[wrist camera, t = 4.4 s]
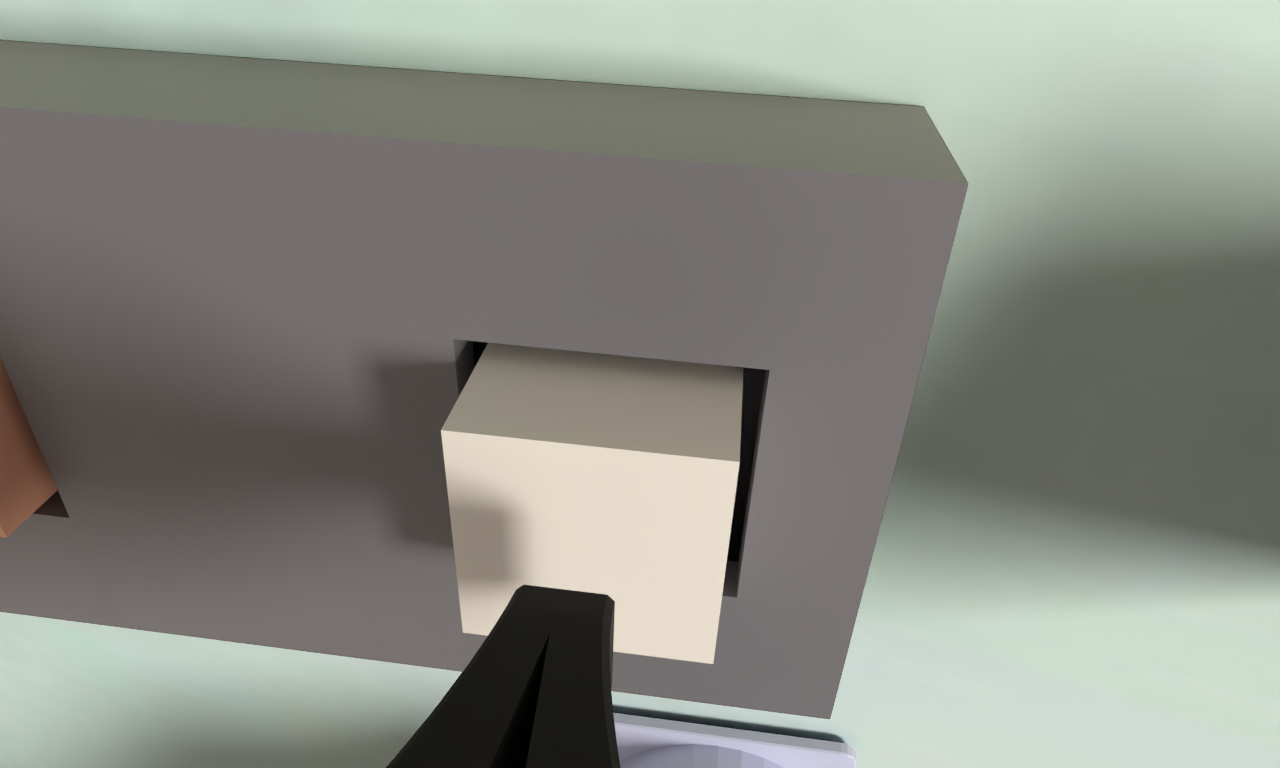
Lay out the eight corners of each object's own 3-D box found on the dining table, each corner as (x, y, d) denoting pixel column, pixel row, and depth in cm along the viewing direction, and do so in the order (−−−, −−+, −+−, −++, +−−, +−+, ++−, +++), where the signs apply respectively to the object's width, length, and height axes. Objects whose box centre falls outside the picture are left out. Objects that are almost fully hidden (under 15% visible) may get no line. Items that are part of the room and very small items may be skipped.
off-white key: (720, 544, 17) (713, 664, 15) (505, 520, 18) (462, 632, 15) (743, 357, 15) (739, 462, 13) (493, 333, 15) (441, 430, 13)
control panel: (819, 583, 22) (830, 718, 18) (-52, 481, 24) (-186, 587, 20) (924, 106, 15) (968, 183, 12) (-293, 18, 17) (-546, 63, 14)
